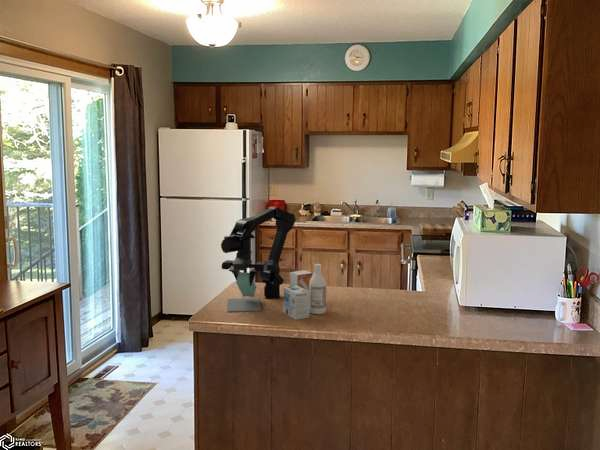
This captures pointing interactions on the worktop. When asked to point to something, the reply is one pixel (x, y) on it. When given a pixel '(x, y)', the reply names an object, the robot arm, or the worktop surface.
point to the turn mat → (243, 305)
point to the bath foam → (317, 292)
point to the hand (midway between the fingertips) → (244, 285)
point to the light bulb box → (296, 302)
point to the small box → (300, 279)
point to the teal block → (245, 284)
